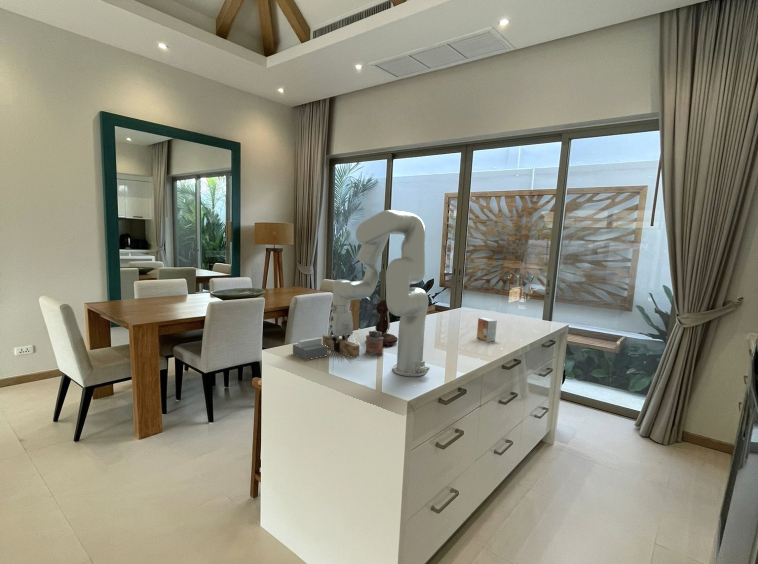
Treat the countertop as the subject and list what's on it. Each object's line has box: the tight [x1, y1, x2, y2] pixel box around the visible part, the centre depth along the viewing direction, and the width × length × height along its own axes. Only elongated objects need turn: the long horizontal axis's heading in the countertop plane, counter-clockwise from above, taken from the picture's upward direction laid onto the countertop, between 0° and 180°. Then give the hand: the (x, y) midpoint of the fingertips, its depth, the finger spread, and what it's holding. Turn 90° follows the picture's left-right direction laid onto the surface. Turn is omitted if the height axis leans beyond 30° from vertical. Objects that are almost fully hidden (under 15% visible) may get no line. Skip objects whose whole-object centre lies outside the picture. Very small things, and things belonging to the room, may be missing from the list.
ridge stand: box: [292, 337, 328, 361], centre depth 162 cm, size 10×10×6 cm
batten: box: [322, 333, 360, 358], centre depth 170 cm, size 22×3×5 cm, turn 43°
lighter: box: [364, 329, 384, 357], centre depth 167 cm, size 8×3×10 cm, turn 62°
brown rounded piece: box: [374, 299, 398, 347], centre depth 185 cm, size 15×15×20 cm
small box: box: [476, 317, 498, 342], centre depth 202 cm, size 8×6×10 cm
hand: (339, 350), depth 170 cm, fingers closed on batten, 2 cm apart
